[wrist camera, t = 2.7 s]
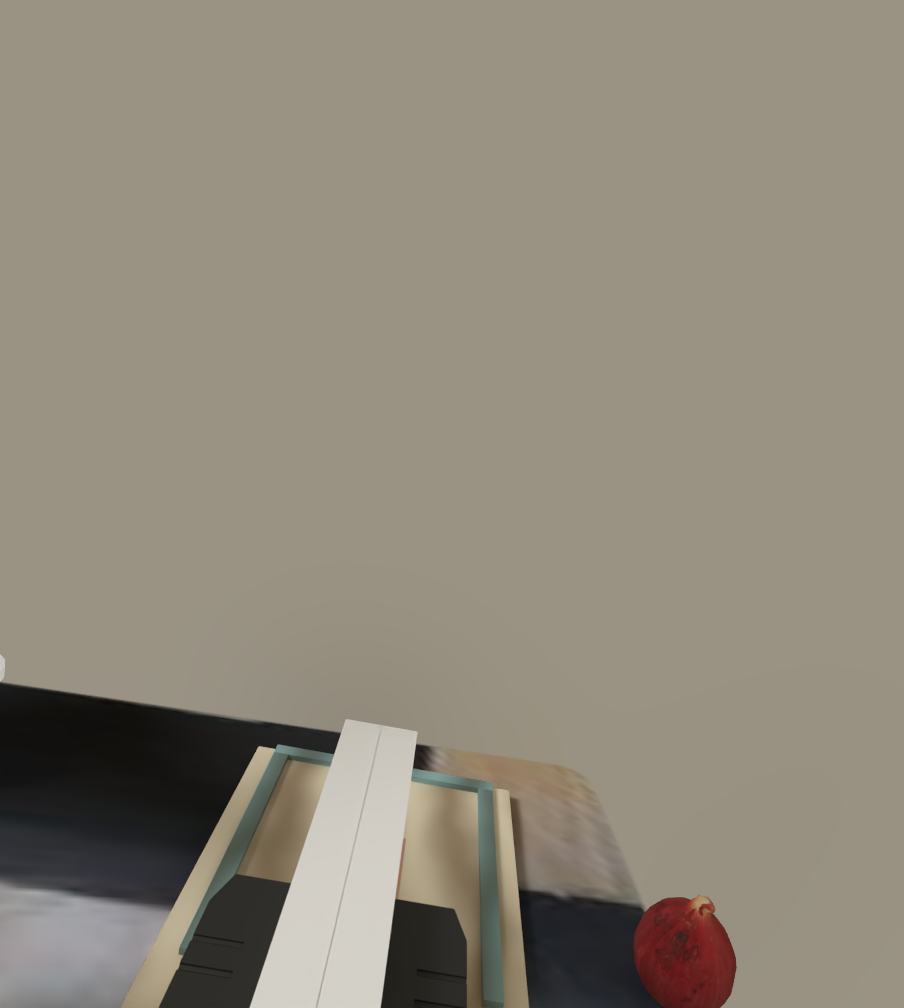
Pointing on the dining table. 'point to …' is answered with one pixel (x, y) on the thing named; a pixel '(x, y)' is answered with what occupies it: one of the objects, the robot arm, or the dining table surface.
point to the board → (425, 874)
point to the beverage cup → (2, 667)
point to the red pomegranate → (684, 954)
